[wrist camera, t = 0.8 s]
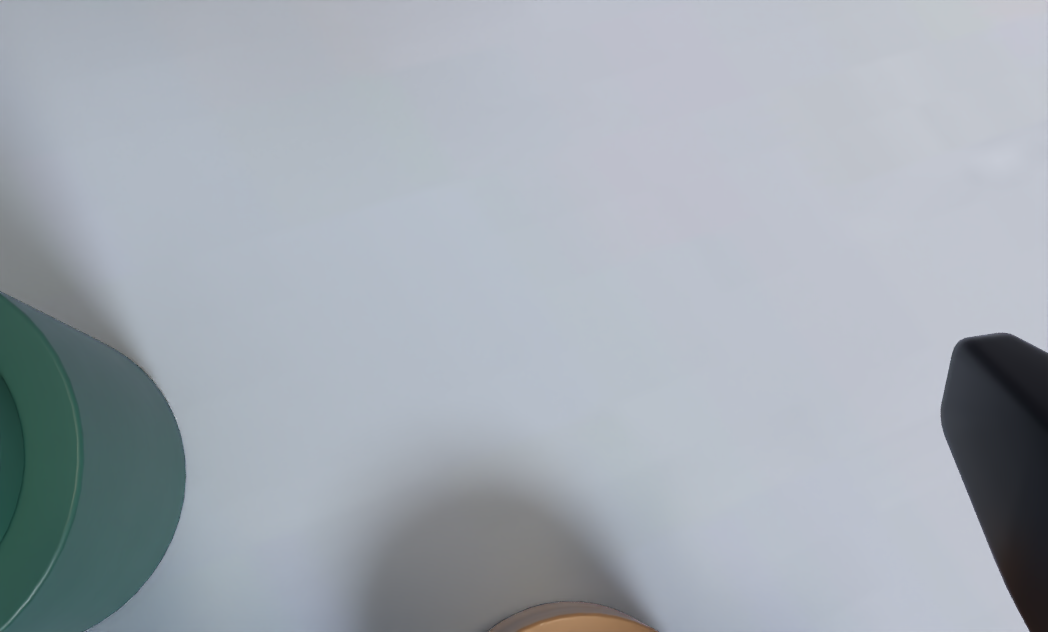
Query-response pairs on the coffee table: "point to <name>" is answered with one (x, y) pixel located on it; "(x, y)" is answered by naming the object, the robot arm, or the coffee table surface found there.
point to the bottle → (78, 475)
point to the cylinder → (571, 619)
